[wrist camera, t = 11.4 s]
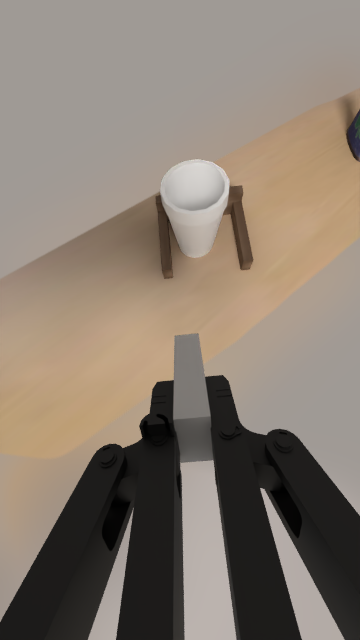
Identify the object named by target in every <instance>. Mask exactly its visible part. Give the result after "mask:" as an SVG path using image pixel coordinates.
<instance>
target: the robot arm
mask: <svg viewBox="0 0 360 640" xmlns="http://www.w3.org/2000/svg"><path fill="white" fill-rule="evenodd" d="M139 427H140V430H141V434H142V439H141V440H139V441H138V442H137V443H135V444H133V445H130V446H127V447H125V448H122V447H121V446H120V445H117V444H108V445H105V446H103V447H102V448H100V449H99V450H98V451H97V452H96V453H95V454H94V456H93V457H92V459H91V461H90V462H89V464H88V466H87V468H86V470H85V471H84V473H83V475H82V477H81V478H80V480H79V482H78V484H77V486H76V488H75V489H74V491H73V493H72V495H71V496H70V498H69V500H68V502H67V504H66V505H65V507H64V509H63V511H62V513H61V514H60V516H59V518H58V520H57V522H56V523H55V525H54V527H53V529H52V531H51V532H50V534H49V536H48V538H47V539H46V541H45V543H44V545H43V547H42V548H41V550H40V552H39V554H38V555H37V558H36V559H35V561H34V563H33V564H32V566H31V568H30V570H29V572H28V573H27V575H26V577H25V579H24V580H23V582H22V584H21V586H20V588H19V589H18V591H17V593H16V595H15V597H14V599H13V600H12V602H11V604H10V606H9V607H8V609H7V611H6V613H5V614H4V616H3V618H2V620H1V622H0V640H88V637H89V634H90V631H91V629H92V625H93V622H94V620H95V617H96V614H97V611H98V608H99V605H100V603H101V599H102V597H103V594H104V591H105V588H106V585H107V582H108V579H109V577H110V574H111V571H112V568H113V565H114V562H115V559H116V556H117V554H118V551H119V548H120V545H121V542H122V539H123V536H124V533H125V530H126V528H127V524H128V522H129V519H130V516H131V513H132V510H133V507H134V510H133V518H132V525H131V532H130V540H129V548H128V555H127V562H126V570H125V577H124V585H123V592H122V600H121V607H120V614H119V623H118V629H117V637H116V640H184V590H183V587H184V586H183V532H182V531H183V530H182V479H181V470H180V462H181V463H183V462H195V461H208V460H214V467H215V480H216V485H217V492H218V500H219V508H220V515H221V523H222V530H223V537H224V546H225V554H226V561H227V568H228V576H229V584H230V591H231V599H232V607H233V615H234V622H235V630H236V638H237V640H302V639H301V636H300V632H299V628H298V625H297V621H296V617H295V614H294V610H293V606H292V603H291V599H290V595H289V592H288V588H287V585H286V581H285V577H284V574H283V570H282V567H281V563H280V559H279V556H278V552H277V548H276V545H275V541H274V537H273V534H272V530H271V526H270V523H269V519H268V516H267V512H266V508H265V505H264V501H263V497H262V494H261V491H260V488H263V489H265V491H266V493H267V495H268V497H269V499H270V500H271V502H272V504H273V506H274V508H275V510H276V511H277V513H278V515H279V517H280V519H281V521H282V523H283V525H284V527H285V528H286V530H287V532H288V534H289V536H290V538H291V540H292V542H293V544H294V545H295V547H296V549H297V551H298V553H299V555H300V557H301V558H302V560H303V562H304V564H305V566H306V568H307V570H308V571H309V573H310V575H311V577H312V579H313V581H314V583H315V585H316V587H317V588H318V590H319V592H320V594H321V596H322V598H323V600H324V602H325V603H326V605H327V607H328V609H329V611H330V613H331V615H332V617H333V618H334V620H335V622H336V624H337V626H338V628H339V630H340V632H341V633H342V635H343V637H344V639H345V640H360V516H359V514H358V513H357V512H356V511H355V509H354V508H353V507H352V506H351V504H350V503H349V502H348V501H347V499H346V498H345V497H344V495H343V494H342V493H341V492H340V490H339V489H338V488H337V486H336V485H335V484H334V483H333V481H332V480H331V479H330V478H329V477H328V475H327V474H326V473H325V471H324V470H323V469H322V467H321V466H320V465H319V464H318V462H317V461H316V460H315V459H314V457H313V456H312V455H311V454H310V452H309V451H308V450H307V449H306V447H305V446H304V445H303V443H302V442H301V441H300V440H299V439H298V437H296V436H295V435H294V434H293V433H291V432H289V431H287V430H282V429H275V430H272V431H270V432H269V433H268V434H267V435H262V434H257V433H254V432H251V431H249V430H247V429H246V428H244V427H243V426H242V424H241V423H240V421H239V419H238V415H237V411H236V408H235V404H234V400H233V397H232V393H231V389H230V385H229V381H228V380H227V379H226V378H225V377H224V376H223V375H219V376H208V377H205V375H204V368H203V361H202V354H201V348H200V341H199V334H198V333H197V334H187V335H177V336H175V345H174V380H172V381H162V382H157V383H156V385H155V386H154V388H153V390H152V399H151V407H150V414H148V415H147V416H145V417H144V418H143V419H142V420H141V423H140V426H139Z"/></svg>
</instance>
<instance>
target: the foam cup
mask: <svg viewBox="0 0 360 640" xmlns="http://www.w3.org/2000/svg"><path fill="white" fill-rule="evenodd" d="M160 194H161V200H162V204H163V207H164V209H165V211H166V214H167V215H168V217H169V220H170V223H171V226H172V228H173V231H174V234H175V237H176V240H177V242H178V245H179V247H180V250H181V252H183V253H184V254H185V255H186V256H189V257H193V258H197V257H203V256H204V255H206V254H207V253H209V251H210V250H211V248H212V246H213V244H214V241H215V238H216V234H217V231H218V228H219V225H220V222H221V219H222V216H223V212H224V210H225V208H226V207H227V203H228V196H229V179H228V177H227V175H226V173H225V171H224V170H223V169H222V168H220V167H219V166H217V165H216V164H214V163H213V162H210V161H204V160H199V159H196V160H190V161H183V162H181V163H179V164H177V165H175V166H174V167H172V168H170V169H169V171H168V172H167V173H166V174H165V176H164V177H163V178H162V181H161V189H160Z"/></svg>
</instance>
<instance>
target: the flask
mask: <svg viewBox="0 0 360 640" xmlns="http://www.w3.org/2000/svg"><path fill="white" fill-rule="evenodd" d="M346 135H347V142H348V145H349V146H350V149H351V152H352V153H353V156H354V158H356V160H357V161H359V162H360V110H359V112H358V113H357V115H356V117H355V119H354V121H353V122H352V124H351V126H350V127H349V129H348V130H347V134H346Z"/></svg>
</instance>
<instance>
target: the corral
mask: <svg viewBox="0 0 360 640" xmlns="http://www.w3.org/2000/svg"><path fill="white" fill-rule="evenodd" d="M242 196H243V188H242V186H234V187H229V196H228V203H227V207H226V208H225V210H224V212H223V215H227V214H231V217H232V222H233V228H234V233H235V239H236V245H237V250H238V256H239V261H240V267H241V270H247V269H250V267H251V265H252V262H253V257H252V252H251V247H250V242H249V237H248V231H247V226H246V221H245V216H244V211H243V206H242ZM156 205H157V209H158V220H159V234H160V248H161V262H162V272H163V275H164V279H166V278H173V273H172V261H171V250H170V238H169V226H168V221H170V220H169V217H168V215H167V214H166V211H165V209H164V207H163V204H162V200H161V196H156Z"/></svg>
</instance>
